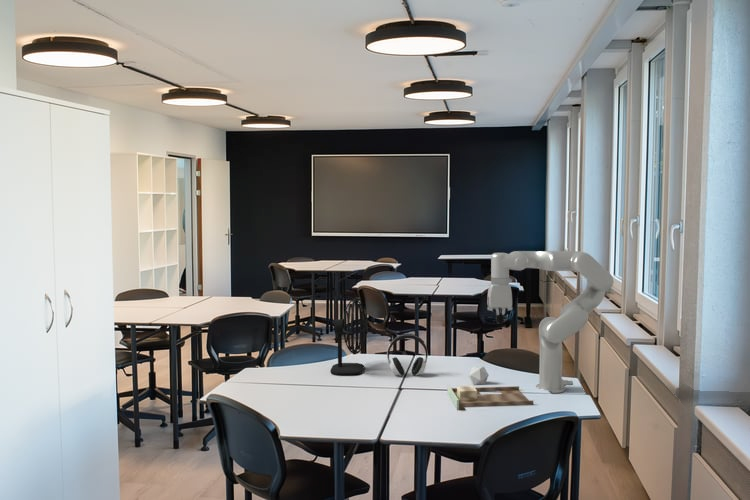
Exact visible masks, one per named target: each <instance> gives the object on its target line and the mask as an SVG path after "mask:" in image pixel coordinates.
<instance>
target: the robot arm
mask: <svg viewBox="0 0 750 500" xmlns="http://www.w3.org/2000/svg"><path fill="white" fill-rule="evenodd" d="M490 261H491V262H490V263H491V264H490V266H491V267H490V272H491V273H490V284H488V290H487V298H486V299H487V300H486V301H487V302H486V304H487V308H486V309H487V311H491V312H493V313H494V314H495V322H496V323H497V325H503V323H504V322H505V321H504V319H505V318H504V317H505V316H504V315H505V314H506V313H507V312H508V311H513V293H512V288H511V284H510V283H512V282H513V278H510V270H511V271H522V270H525V269H536V270H537V269H538V270H543V271H549V272H579V274H580V275H581V276H583V278H585V280H586V287H585V288H584V290H583V291H582V293H580V294H579V295H578V296H576V297H575V298H574V299H572V300H571V301H569V302H568V303H566V304H565V305H564V306H563V307H561V310H560V316H559V317H557V318H556V317H554V316H547V317H545V318H543V319H542V320H541V321H540V322H539V325H538V340H539V371H538V372H539V374H538V375H539V376H538V377H539V379H538V380H539V382H538V384H536V385H535V387H536V388H537V389H539V390H542V391H548V392H549V393H550V394H560V393H564V392H566V387H567V386H573V385H574V382H573V380H568V379H563V342H565V341H567V340H568V339H569V338H571V337H572V336H574V335H575V334H576V333H577V332H579V331H580V330H581V329H583V328H584V327H585V326H586V325H587V323H588V321H589V314H590V313H591V312H593V311H594V310H596V309H597V307H599V306H600V305H601V303H602V302H603V300H604V298H605V295H606V292H608V291H609V290H611V289H612V288H613V286H614V277H613V275H612V274H611V273H610V272H609V271H608V270H607V269H606V268H605V267H604V266H602V264H600V262H598V260H596V259H595V258H594V257H593V256H592V255H591V254H589V253H587V252H584V251H576V250H574V251H573V250H570V251H569V250H568V251H567V250H561V251H560V250H559V251H557V250H544V251H543V250H541V251H540V250H537V251H536V250H516V251H515V250H514V251H511V252H510V253H506V252H493V253H492V254H491V256H490Z"/></svg>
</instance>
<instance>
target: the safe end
mask: <svg viewBox="0 0 750 500" xmlns="http://www.w3.org/2000/svg"><path fill="white" fill-rule="evenodd" d="M451 388H452V387H451V386H450V384H449V385H447V394H446V395H447V396H448V398H449V400H450V401H451V403H452V404H453V406H454V408H455V409H456V410H457V411H460V410H459V399H458V398H457V396H456V395H455V393H454V392H453V390H452V389H451Z"/></svg>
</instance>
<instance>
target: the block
mask: <svg viewBox="0 0 750 500" xmlns="http://www.w3.org/2000/svg"><path fill="white" fill-rule="evenodd" d="M456 388H457V397H458V398H459V400H460V401H477V390H476V389H475V388H476V387H475V385H473V386H472V385H470V386H467V385H466V386H464V385H463V386H457V387H456Z"/></svg>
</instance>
